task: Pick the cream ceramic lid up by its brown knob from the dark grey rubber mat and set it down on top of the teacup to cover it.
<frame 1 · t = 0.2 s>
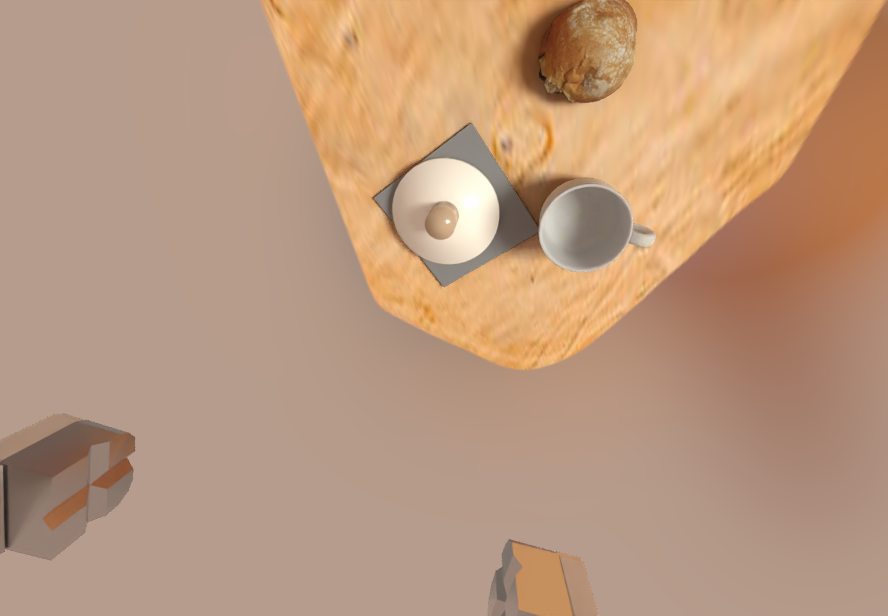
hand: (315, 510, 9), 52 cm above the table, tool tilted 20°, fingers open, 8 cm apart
lid: (446, 212, 58), resting on mat
teacup: (588, 213, 56), on the table
bread roll: (584, 53, 47), on the table
mat: (456, 213, 59), on the table
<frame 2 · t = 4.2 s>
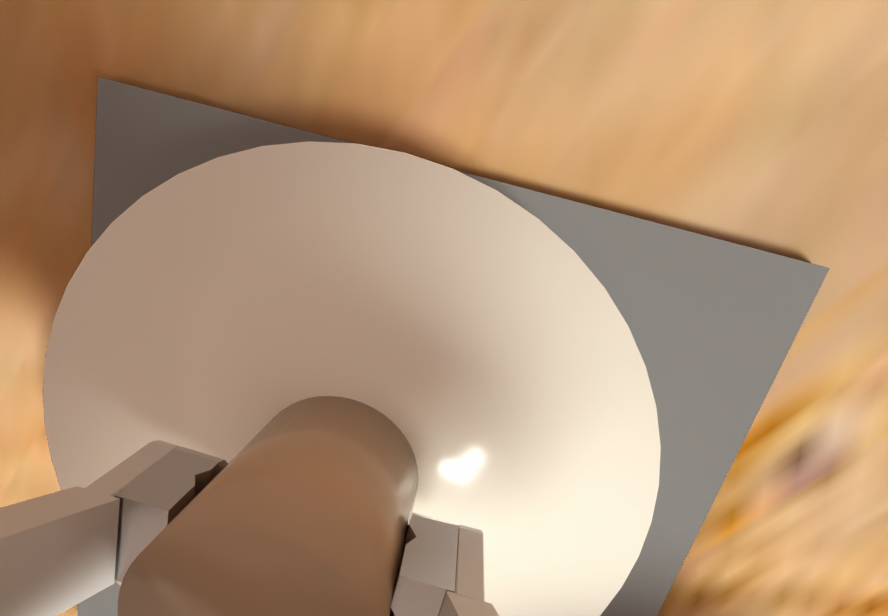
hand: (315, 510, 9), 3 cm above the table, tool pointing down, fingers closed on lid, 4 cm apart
lid: (351, 444, 11), resting on mat, touching gripper
mat: (381, 476, 12), on the table
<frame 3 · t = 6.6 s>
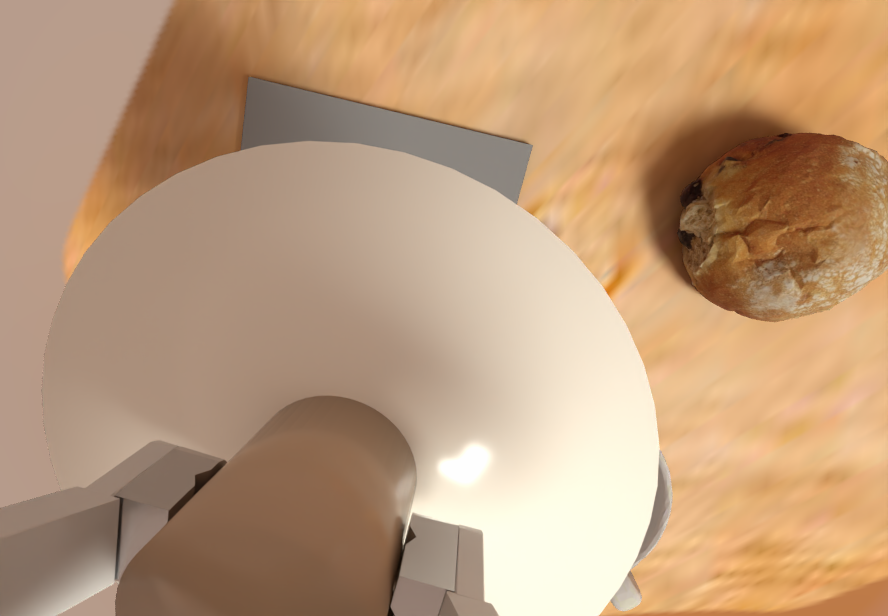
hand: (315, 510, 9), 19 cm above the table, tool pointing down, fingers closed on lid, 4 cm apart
lid: (350, 444, 11), point 16 cm above the table, touching gripper
teacup: (547, 444, 29), on the table
bread roll: (752, 227, 25), on the table
mat: (364, 253, 26), on the table
when the fingers open (12 cm above the table, at t = 9.1 s): lid drops 1 cm, resting on teacup.
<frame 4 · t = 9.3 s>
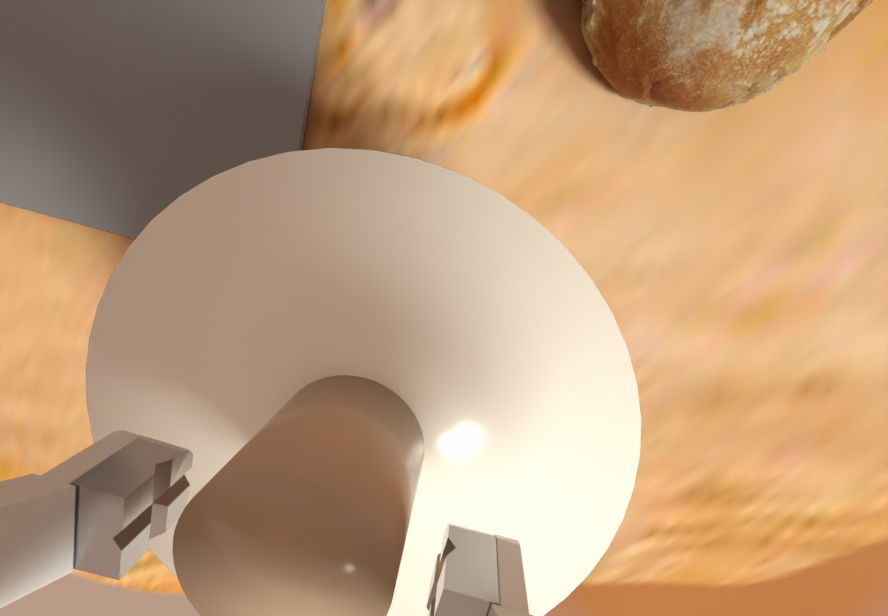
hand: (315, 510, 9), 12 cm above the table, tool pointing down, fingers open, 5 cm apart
lid: (362, 422, 12), point 8 cm above the table, touching teacup
mat: (122, 35, 18), on the table
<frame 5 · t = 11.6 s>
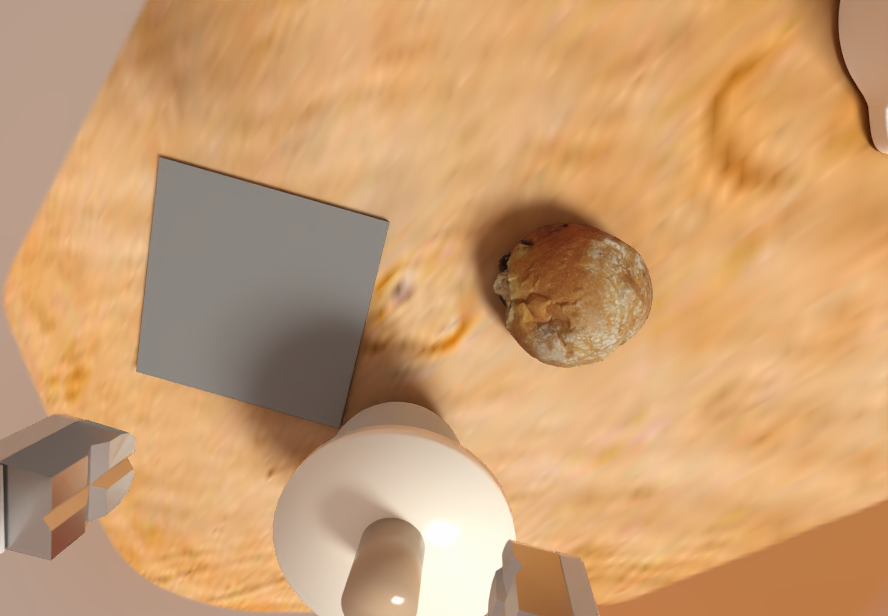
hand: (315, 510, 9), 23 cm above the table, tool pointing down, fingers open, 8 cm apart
lid: (395, 531, 27), point 8 cm above the table, touching teacup
teacup: (411, 460, 35), on the table, touching lid
bread roll: (561, 289, 31), on the table
mat: (257, 300, 32), on the table
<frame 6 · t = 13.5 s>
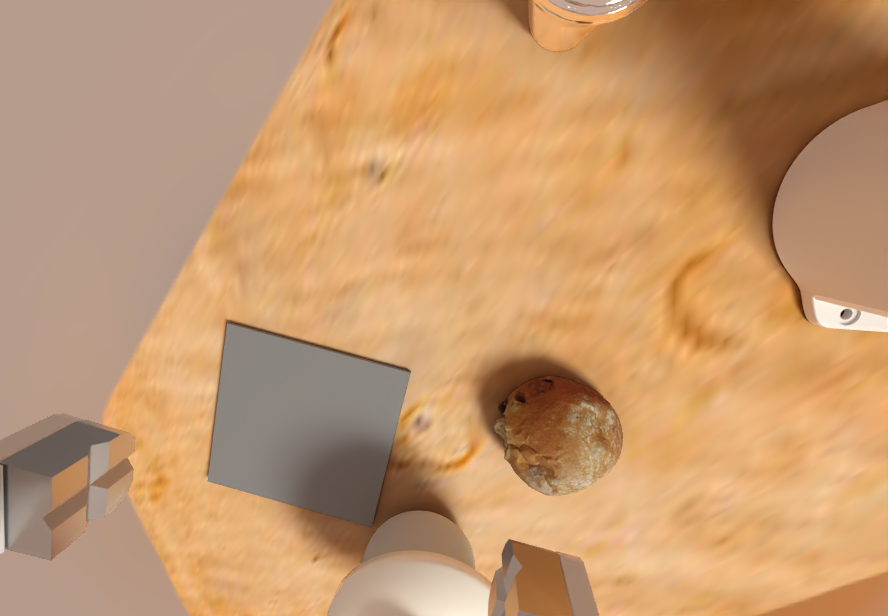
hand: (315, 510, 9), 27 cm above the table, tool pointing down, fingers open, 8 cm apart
teacup: (431, 550, 42), on the table, touching lid
cup with straw: (563, 18, 30), on the table
bread roll: (550, 421, 38), on the table
mat: (304, 428, 39), on the table
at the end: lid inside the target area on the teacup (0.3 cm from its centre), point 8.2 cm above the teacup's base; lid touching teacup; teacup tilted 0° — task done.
